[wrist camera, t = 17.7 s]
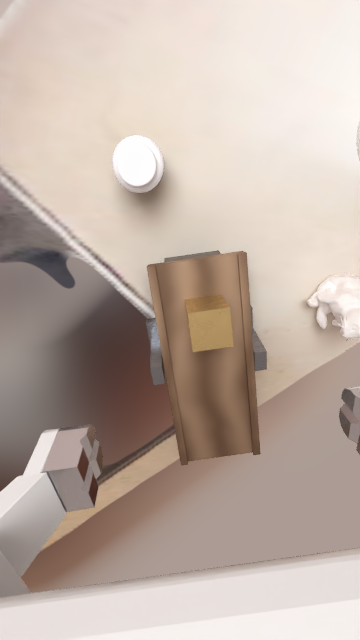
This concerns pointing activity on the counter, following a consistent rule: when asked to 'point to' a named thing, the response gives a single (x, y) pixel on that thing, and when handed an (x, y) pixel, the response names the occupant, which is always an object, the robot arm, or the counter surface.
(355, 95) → the counter surface
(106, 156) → the counter surface
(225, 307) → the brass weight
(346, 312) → the white seated figurine
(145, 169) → the supplement bottle
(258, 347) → the trestle
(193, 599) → the robot arm
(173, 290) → the beam
